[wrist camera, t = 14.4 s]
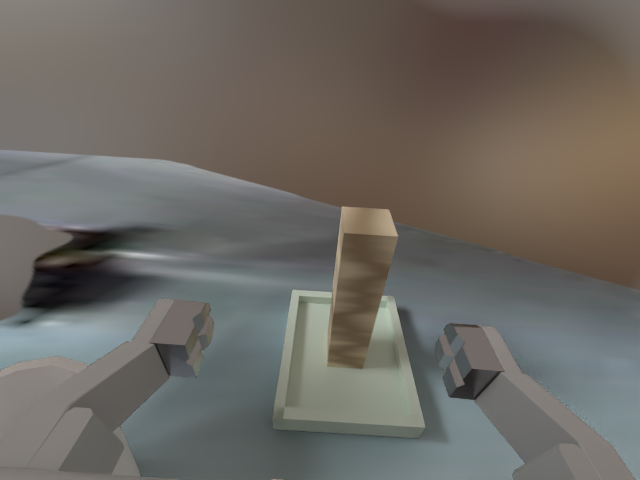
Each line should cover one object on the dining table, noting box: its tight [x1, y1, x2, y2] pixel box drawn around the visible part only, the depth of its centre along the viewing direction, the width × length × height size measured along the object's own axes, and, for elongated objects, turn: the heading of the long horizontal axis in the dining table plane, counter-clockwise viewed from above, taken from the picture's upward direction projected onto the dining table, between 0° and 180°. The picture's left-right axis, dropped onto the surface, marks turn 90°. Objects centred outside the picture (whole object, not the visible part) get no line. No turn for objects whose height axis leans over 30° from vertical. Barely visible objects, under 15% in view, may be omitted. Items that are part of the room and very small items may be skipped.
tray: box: [272, 290, 426, 438], centre depth 32 cm, size 14×16×2 cm
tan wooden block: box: [327, 207, 398, 369], centre depth 27 cm, size 4×4×18 cm
